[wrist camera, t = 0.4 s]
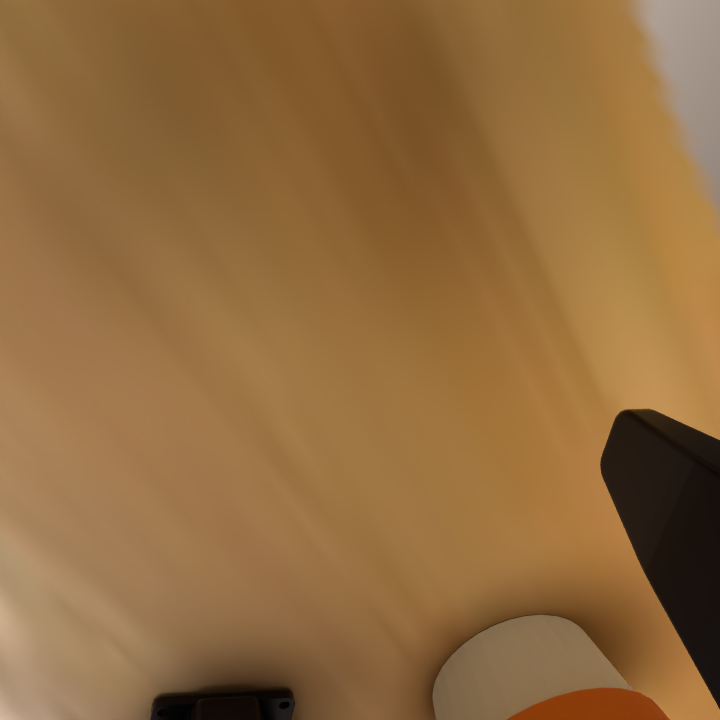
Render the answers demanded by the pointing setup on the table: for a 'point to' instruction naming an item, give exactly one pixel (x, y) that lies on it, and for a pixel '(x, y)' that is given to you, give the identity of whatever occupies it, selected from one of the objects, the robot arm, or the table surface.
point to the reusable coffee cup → (535, 677)
